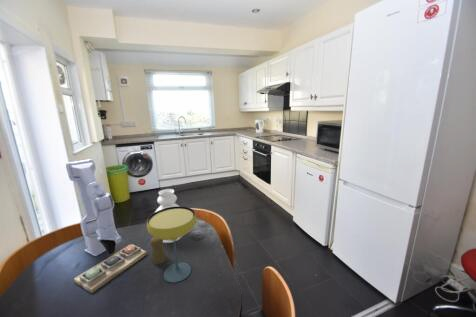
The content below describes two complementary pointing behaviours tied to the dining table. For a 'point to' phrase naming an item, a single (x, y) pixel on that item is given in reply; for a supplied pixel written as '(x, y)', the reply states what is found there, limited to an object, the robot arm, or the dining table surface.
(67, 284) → the dining table surface
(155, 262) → the cork
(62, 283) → the dining table surface
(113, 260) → the charcoal button
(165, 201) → the decorative vase
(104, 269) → the button board
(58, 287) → the dining table surface
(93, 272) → the sage button
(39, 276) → the dining table surface
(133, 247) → the terracotta button
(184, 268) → the cocktail glass
